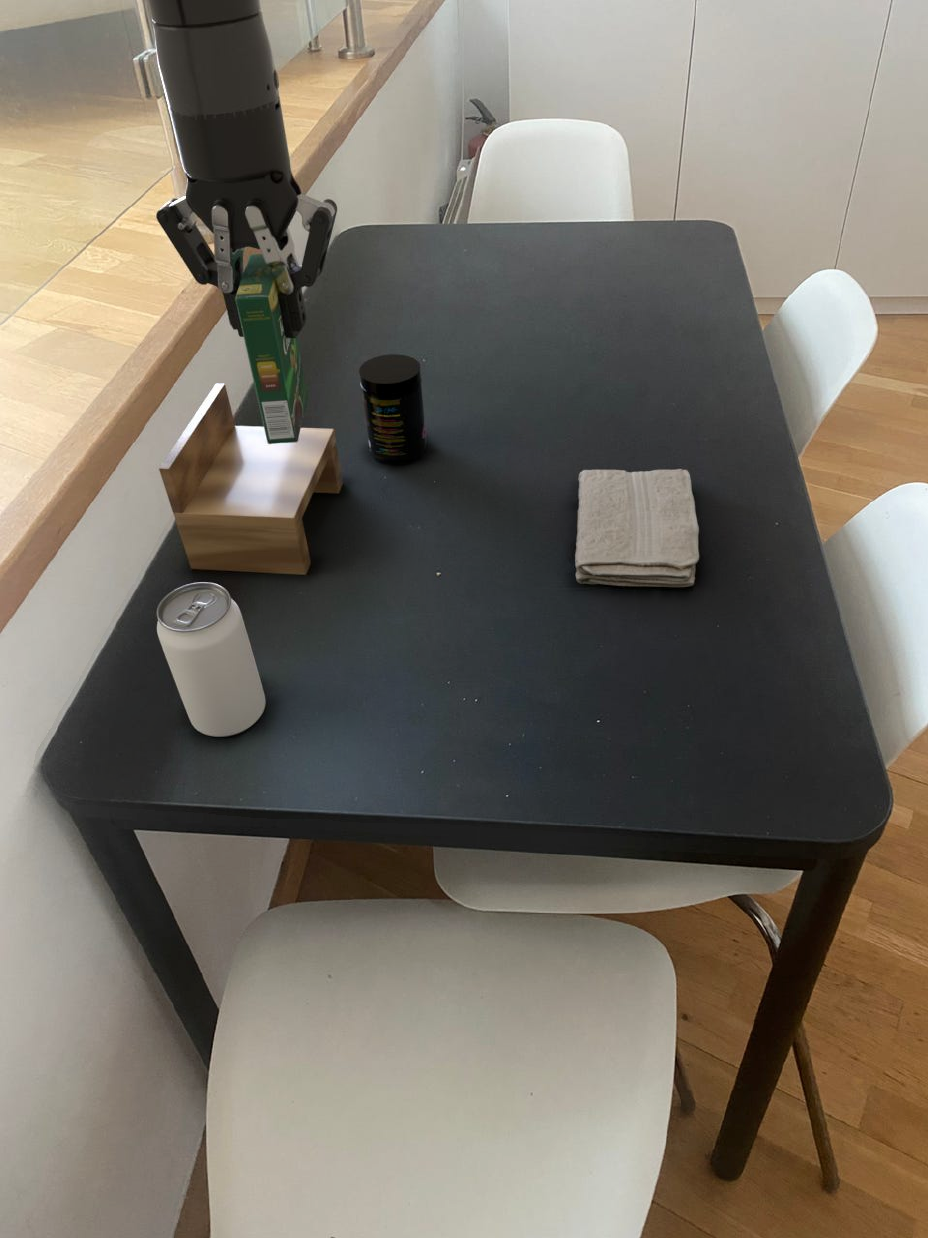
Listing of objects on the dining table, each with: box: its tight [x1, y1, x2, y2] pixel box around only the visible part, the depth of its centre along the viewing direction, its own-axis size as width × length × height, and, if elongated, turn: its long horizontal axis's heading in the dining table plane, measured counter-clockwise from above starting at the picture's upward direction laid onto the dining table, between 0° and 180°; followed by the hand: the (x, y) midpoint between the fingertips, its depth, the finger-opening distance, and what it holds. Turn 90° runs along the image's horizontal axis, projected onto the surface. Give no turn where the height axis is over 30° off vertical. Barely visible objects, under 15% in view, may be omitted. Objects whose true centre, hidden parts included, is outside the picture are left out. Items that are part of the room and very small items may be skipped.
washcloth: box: [574, 468, 700, 588], centre depth 92 cm, size 12×18×3 cm, turn 175°
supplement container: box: [358, 353, 428, 465], centre depth 103 cm, size 7×7×10 cm
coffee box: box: [235, 253, 309, 444], centre depth 75 cm, size 8×3×13 cm, turn 1°
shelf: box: [158, 383, 344, 576], centre depth 94 cm, size 16×12×12 cm
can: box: [156, 581, 266, 738], centre depth 74 cm, size 6×6×12 cm
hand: (271, 332), depth 74 cm, fingers closed on coffee box, 3 cm apart
